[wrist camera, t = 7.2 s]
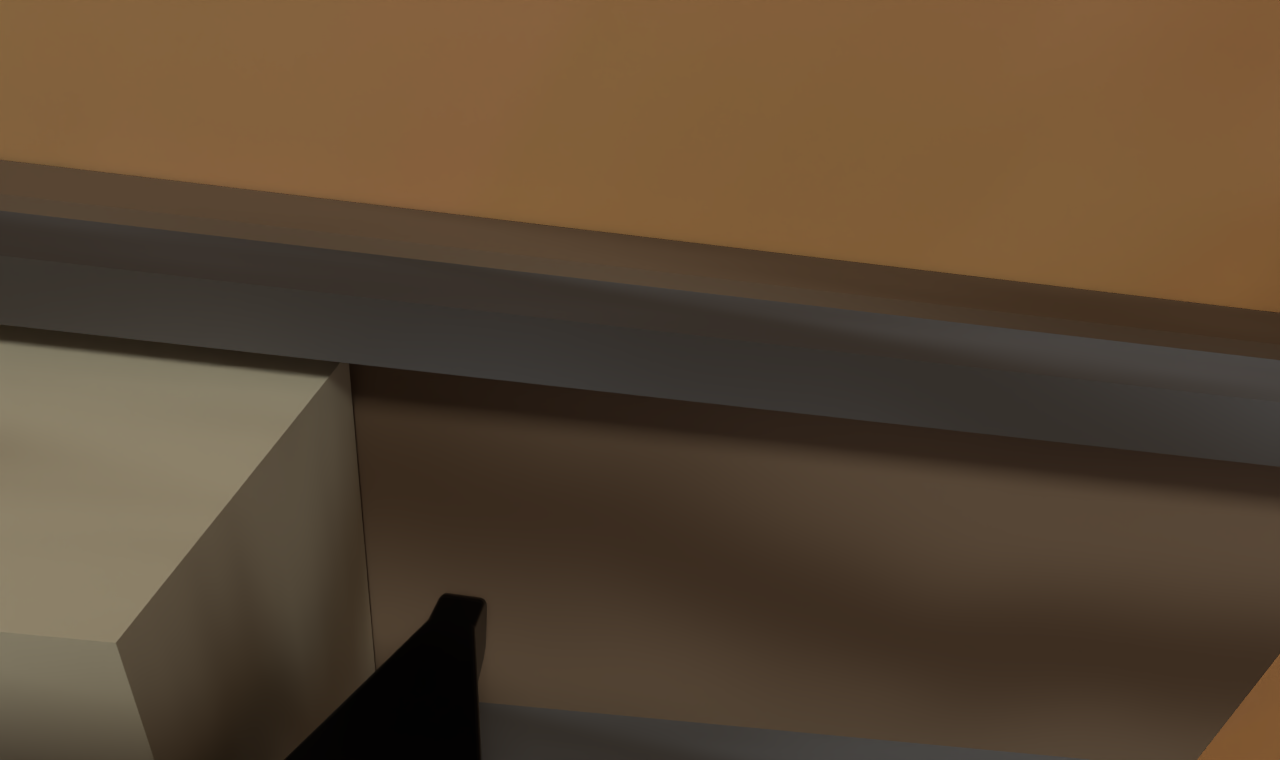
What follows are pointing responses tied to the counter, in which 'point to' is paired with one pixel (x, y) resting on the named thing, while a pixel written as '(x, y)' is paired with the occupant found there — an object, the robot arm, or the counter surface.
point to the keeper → (175, 549)
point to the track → (738, 470)
